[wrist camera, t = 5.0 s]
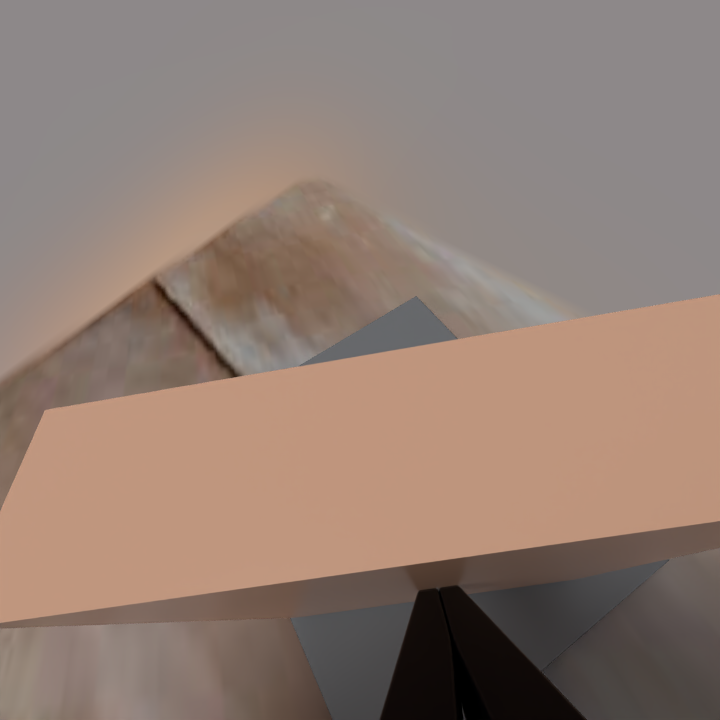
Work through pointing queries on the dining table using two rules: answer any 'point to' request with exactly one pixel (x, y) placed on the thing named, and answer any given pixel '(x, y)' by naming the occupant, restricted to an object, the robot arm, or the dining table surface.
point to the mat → (504, 607)
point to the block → (375, 477)
